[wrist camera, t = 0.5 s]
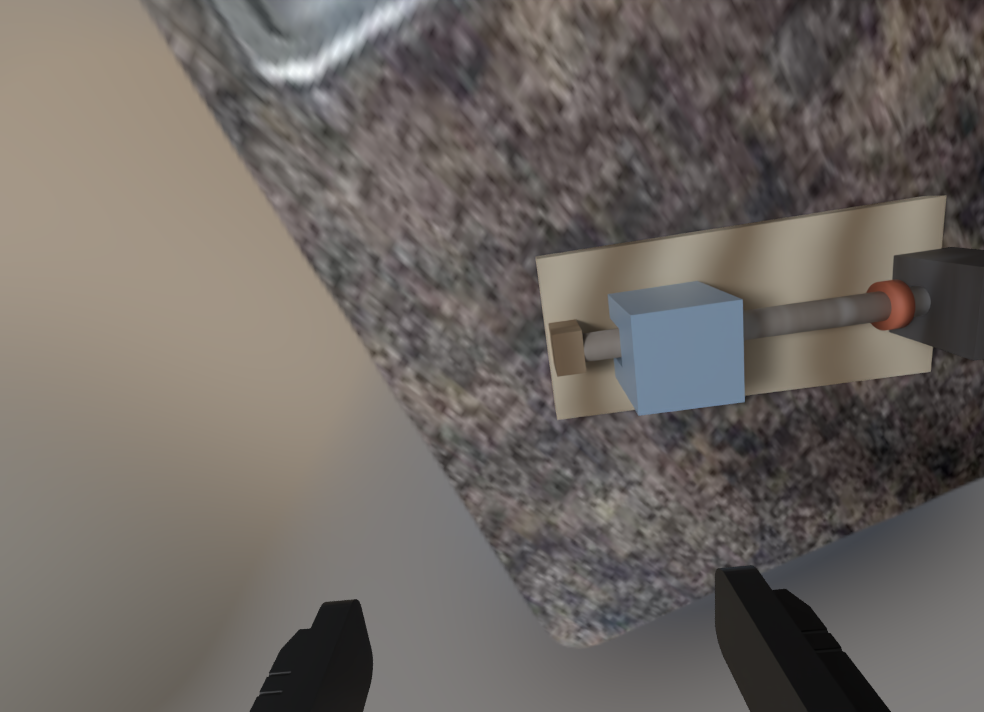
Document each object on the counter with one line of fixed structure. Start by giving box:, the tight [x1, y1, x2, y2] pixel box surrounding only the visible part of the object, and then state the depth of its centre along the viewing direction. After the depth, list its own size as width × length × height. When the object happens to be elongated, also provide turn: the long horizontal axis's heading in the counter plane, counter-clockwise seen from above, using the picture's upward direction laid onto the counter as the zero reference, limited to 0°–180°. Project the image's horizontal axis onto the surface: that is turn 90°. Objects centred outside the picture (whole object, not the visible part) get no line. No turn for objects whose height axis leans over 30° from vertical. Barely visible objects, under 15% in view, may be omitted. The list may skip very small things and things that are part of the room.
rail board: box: [536, 196, 984, 420], centre depth 27 cm, size 22×10×7 cm, turn 99°
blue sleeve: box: [608, 281, 745, 416], centre depth 26 cm, size 5×5×6 cm
